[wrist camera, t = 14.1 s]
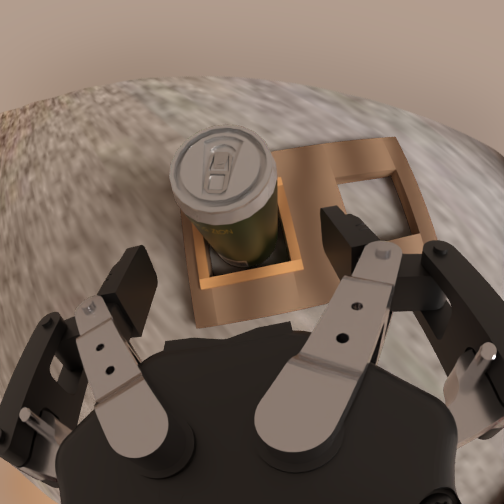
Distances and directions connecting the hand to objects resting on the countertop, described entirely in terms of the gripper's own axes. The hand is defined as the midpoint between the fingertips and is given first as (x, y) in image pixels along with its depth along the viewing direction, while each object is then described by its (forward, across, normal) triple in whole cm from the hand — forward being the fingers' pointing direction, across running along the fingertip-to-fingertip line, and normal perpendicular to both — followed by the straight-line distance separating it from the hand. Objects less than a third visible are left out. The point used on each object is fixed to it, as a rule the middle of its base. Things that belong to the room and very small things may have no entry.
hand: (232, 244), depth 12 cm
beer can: (+11, 0, +6) cm, 12 cm away
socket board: (+11, -6, +5) cm, 13 cm away
